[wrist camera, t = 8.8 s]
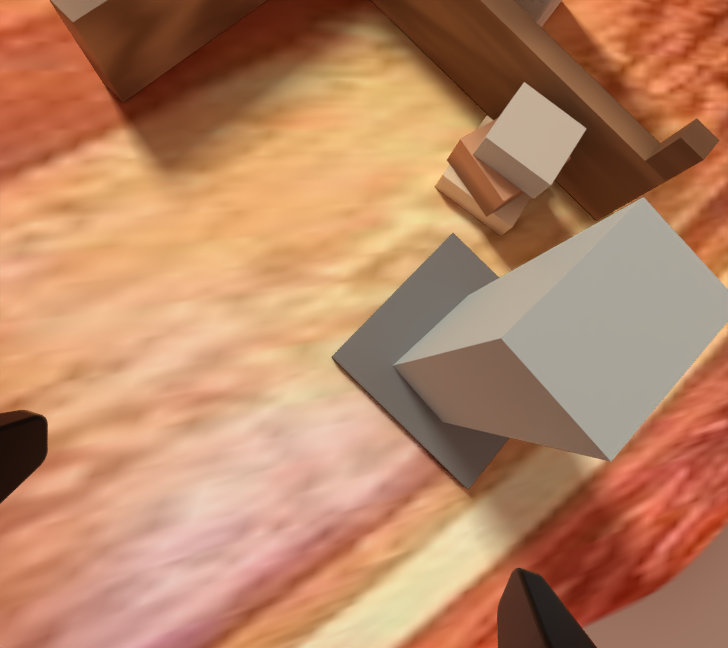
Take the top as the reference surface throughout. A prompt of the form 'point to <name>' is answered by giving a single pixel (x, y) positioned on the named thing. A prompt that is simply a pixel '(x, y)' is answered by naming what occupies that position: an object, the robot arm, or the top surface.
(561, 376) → the block
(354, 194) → the top surface
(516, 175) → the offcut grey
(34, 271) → the top surface
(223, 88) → the top surface
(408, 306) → the mat
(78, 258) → the top surface
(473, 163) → the offcut cherry
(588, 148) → the frame
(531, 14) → the supplement box
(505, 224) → the offcut birch
